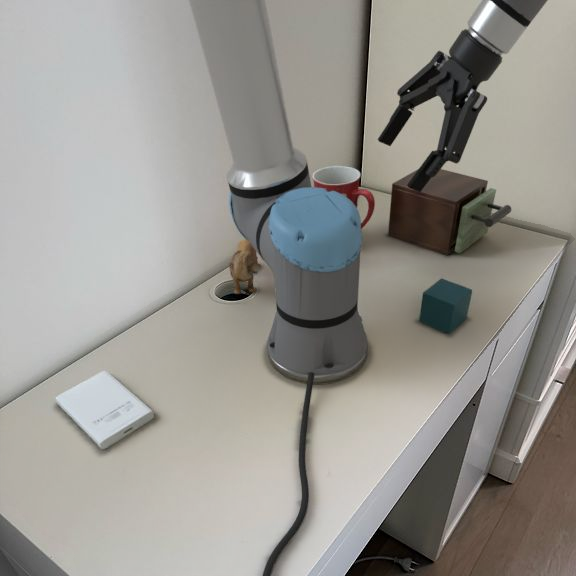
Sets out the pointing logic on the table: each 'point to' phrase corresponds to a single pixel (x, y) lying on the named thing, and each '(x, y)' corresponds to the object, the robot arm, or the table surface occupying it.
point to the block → (445, 305)
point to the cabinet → (430, 209)
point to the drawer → (476, 218)
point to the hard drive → (104, 409)
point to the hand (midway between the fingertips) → (398, 165)
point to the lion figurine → (244, 266)
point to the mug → (344, 185)
